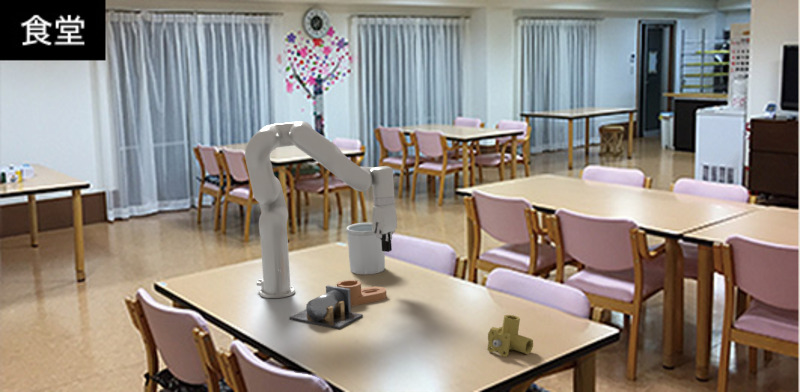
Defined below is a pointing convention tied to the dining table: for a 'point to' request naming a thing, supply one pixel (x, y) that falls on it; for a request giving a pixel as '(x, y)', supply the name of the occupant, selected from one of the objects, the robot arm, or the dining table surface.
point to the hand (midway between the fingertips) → (386, 250)
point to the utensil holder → (365, 249)
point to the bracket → (362, 292)
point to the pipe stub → (329, 309)
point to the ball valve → (508, 337)
